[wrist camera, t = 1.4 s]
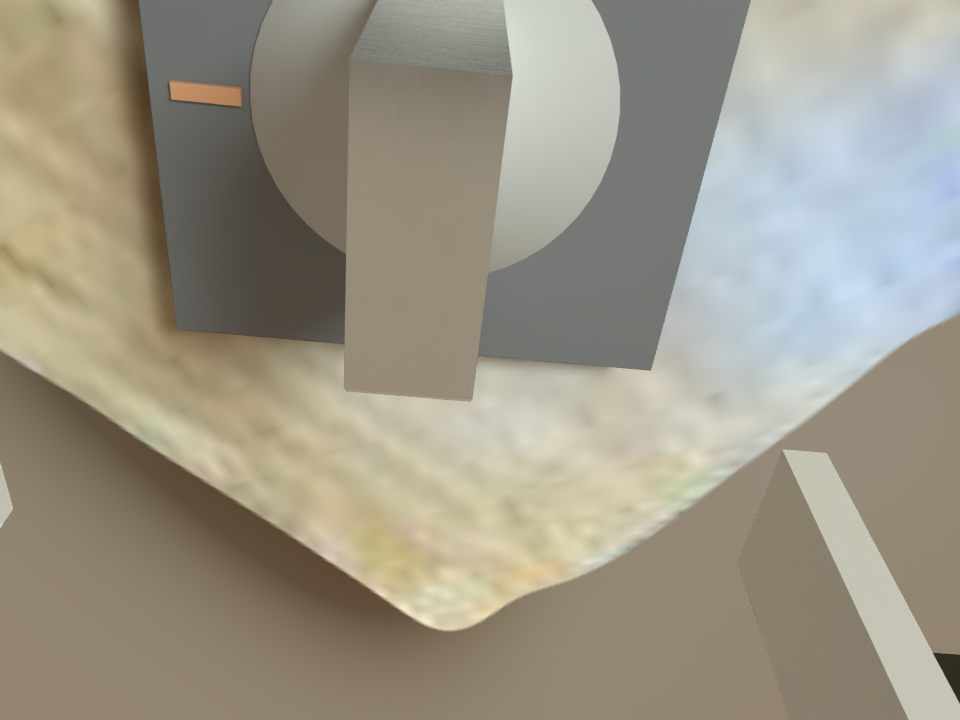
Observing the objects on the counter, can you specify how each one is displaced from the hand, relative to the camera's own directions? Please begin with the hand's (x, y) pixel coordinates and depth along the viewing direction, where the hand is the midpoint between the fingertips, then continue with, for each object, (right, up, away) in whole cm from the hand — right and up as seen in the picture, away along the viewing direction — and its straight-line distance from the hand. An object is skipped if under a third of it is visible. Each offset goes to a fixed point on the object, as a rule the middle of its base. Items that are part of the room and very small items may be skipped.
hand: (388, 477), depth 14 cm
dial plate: (0, +12, +17) cm, 21 cm away
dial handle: (0, +10, +15) cm, 18 cm away
